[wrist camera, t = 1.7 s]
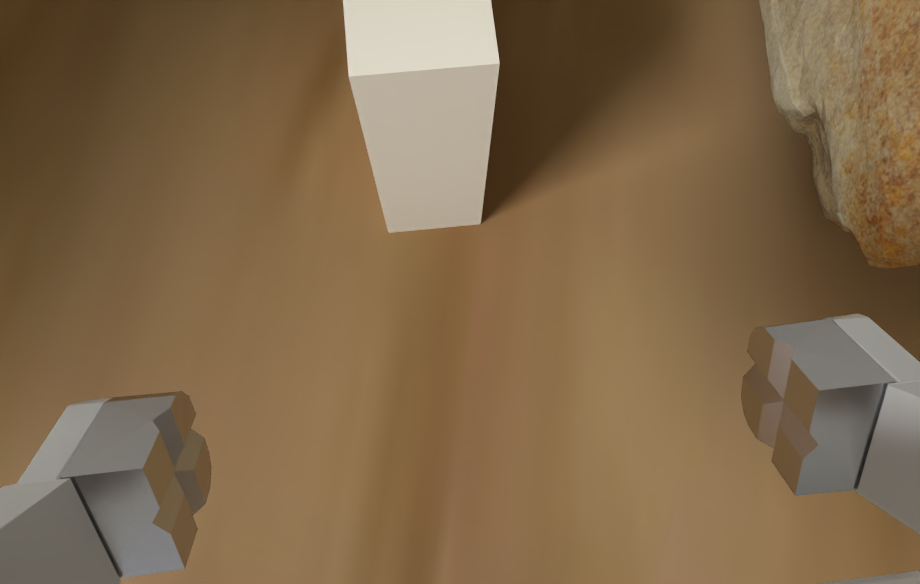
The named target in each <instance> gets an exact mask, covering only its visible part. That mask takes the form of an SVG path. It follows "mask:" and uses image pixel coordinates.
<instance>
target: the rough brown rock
mask: <svg viewBox="0 0 920 584" xmlns="http://www.w3.org/2000/svg"><path fill="white" fill-rule="evenodd" d="M759 4H760V8H761V16H762V20H763V23H764V29H765V45H766V51H767V57H768V63H769V72H770V79H771V93H772V95H773V98H774V101H775V104H776V107H777V110H778V113H779V114H781V115H783V117H784V118H785V120H786V121H787V122H788V124H789V125H790V127H791V128H792V130H793V131H794V132H797V133H799V134H801V135H803V136H805V137H806V138H807V141H808V143H809V145H810V148H811V150H812V152H813V157H812V173H813V178H814V183H815V188H816V191H817V195H818V198H819V201H820V205H821V208H822V211H823V214H824V218H826V219H828V220H830V221H831V222H833V223H835V224H836V225H837V226H839V227H840V228H841V229H842V230H843V231H844V232H849V233H850V234H851V235H852V236H853V237H854V238H855V239H856V240H857V242H858V244H859V246H860V249H861V251H862V253H863V255H864V257H865V259H866V261H867V263H868V265H869V266H872V267H877V268H899V267H904V266H913V265H920V0H759Z"/></svg>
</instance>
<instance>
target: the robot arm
mask: <svg viewBox="0 0 920 584" xmlns="http://www.w3.org/2000/svg"><path fill="white" fill-rule="evenodd" d="M747 352H748V354H749V355H750V356H751V358H752V359H753V360H754V362H755V364H754V365H753V366H752V367H751V369H750V370H749V371H748V372H747V373H746V374H745V375H744V376H743V383H742V392H741V398H742V405H743V411H744V415H745V418H746V420H747V423H748V425H749V427H750V429H751V431H752V432H753V434H754V435H755V437H756V438H757V439H758V440H760V441H761V442H763V443H765V444H767V445H769V446H771V447H772V448H774V451H773V456H772V462H773V464H774V465H775V467H776V468H777V470H778V471H779V473H780V474H781V476H782V477H783V479H784V480H785V482H786V483H787V485H788V486H789V488H790V489H791V491H792V492H793V493H794V495H795V496H798V495H809V494H819V493H830V492H841V491H852V490H857V492H856V493H857V494H859V495H860V496H862V497H863V498H865V499H866V500H868V501H869V502H871V503H872V504H874V505H876V506H877V507H879V508H880V509H882V510H883V511H885V512H886V513H888V514H889V515H891V516H892V517H894V518H895V519H897V520H898V521H900V522H901V523H903V524H904V525H906V526H908V527H909V528H911V529H912V530H914V531H915V532H917V533H918V534H920V362H919V361H918V360H917V359H915V358H914V357H913V356H912V355H911V354H910V353H909V352H907V351H906V350H905V349H904V348H903V347H902V346H901V345H899V344H898V343H897V342H896V341H895V340H894V339H893V338H892V337H890V336H889V335H888V334H887V333H886V332H885V331H884V330H882V329H881V328H880V327H879V326H878V325H877V324H876V323H874V322H873V321H872V320H871V319H870V318H869V317H867V316H864V315H861V314H851V315H844V316H837V317H830V318H824V319H822V320H814V321H806V322H798V323H790V324H782V325H774V326H765V327H757V328H754V330H753V332H752V334H751V336H750V338H749V344H748V349H747ZM195 416H196V413H195V410H194V407H193V405H192V402H191V400H190V397H189V396H188V395H187V394H185V393H184V392H182V391H179V392H168V393H157V394H146V395H135V396H124V397H113V398H111V399H109V398H104V399H95V400H86V401H77V402H75V403H73V404H70V405H68V406H67V407H66V409H65V410H64V412H63V413H62V415H61V416H60V418H59V420H58V421H57V423H56V424H55V426H54V427H53V429H52V430H51V432H50V433H49V435H48V436H47V438H46V439H45V441H44V442H43V444H42V445H41V447H40V449H39V450H38V452H37V453H36V455H35V456H34V458H33V459H32V461H31V462H30V464H29V465H28V467H27V468H26V470H25V471H24V473H23V475H22V476H21V478H20V479H19V481H18V482H17V484H14V485H6V486H3V487H2V488H0V584H119V583H120V582H121V580H120V578H126V577H132V576H139V575H146V574H153V573H160V572H166V571H173V570H180V569H185V567H186V564H187V561H188V557H189V554H190V551H191V548H192V545H193V542H194V539H195V536H196V533H197V529H198V528H197V526H196V523H195V520H194V518H193V515H194V514H195V513H196V512H197V511H198V510H199V509H200V508H201V507H202V506H204V505H205V504H206V501H207V497H208V494H209V490H210V483H211V462H210V455H209V450H208V447H207V444H206V441H205V438H203V437H202V436H201V435H199V434H198V433H196V432H195V431H194V430H192V429H191V427H192V424H193V421H194V419H195ZM817 584H920V571H913V572H905V573H897V574H889V575H881V576H873V577H865V578H857V579H849V580H841V581H833V582H825V583H817Z"/></svg>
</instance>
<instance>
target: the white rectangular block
mask: <svg viewBox="0 0 920 584" xmlns="http://www.w3.org/2000/svg"><path fill="white" fill-rule="evenodd" d="M343 6H344V20H345V33H346V47H347V60H348V74H349V80H350V84H351V88H352V92H353V96H354V99H355V103H356V107H357V111H358V115H359V119H360V123H361V127H362V131H363V135H364V139H365V143H366V147H367V151H368V155H369V159H370V163H371V166H372V170H373V174H374V178H375V182H376V186H377V190H378V194H379V198H380V202H381V206H382V210H383V214H384V218H385V222H386V226H387V230H388V233H392V232H402V231H413V230H423V229H434V228H444V227H455V226H465V225H475V224H481V217H482V209H483V200H484V192H485V183H486V175H487V166H488V158H489V150H490V141H491V133H492V124H493V116H494V108H495V99H496V91H497V82H498V74H499V66H500V62H499V55H498V47H497V40H496V33H495V26H494V18H493V11H492V4H491V0H343Z"/></svg>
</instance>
